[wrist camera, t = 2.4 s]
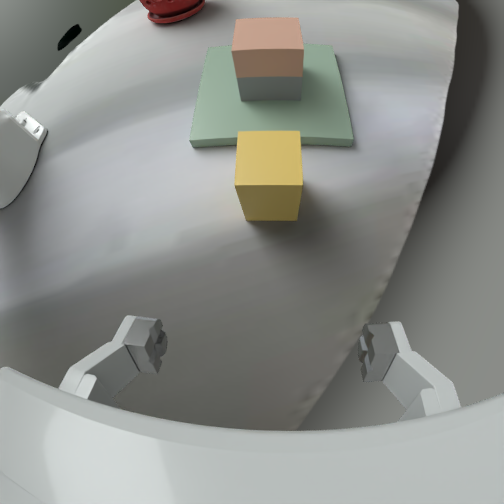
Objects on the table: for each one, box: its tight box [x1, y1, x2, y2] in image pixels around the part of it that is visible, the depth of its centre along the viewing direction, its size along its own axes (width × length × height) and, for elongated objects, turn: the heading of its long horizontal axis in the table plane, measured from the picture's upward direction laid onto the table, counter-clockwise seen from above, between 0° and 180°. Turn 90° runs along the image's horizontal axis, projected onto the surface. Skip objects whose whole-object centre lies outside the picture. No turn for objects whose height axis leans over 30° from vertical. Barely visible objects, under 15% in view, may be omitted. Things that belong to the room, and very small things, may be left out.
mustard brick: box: [235, 131, 303, 221], centre depth 25 cm, size 5×5×8 cm
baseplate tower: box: [189, 18, 354, 147], centre depth 28 cm, size 18×18×10 cm
